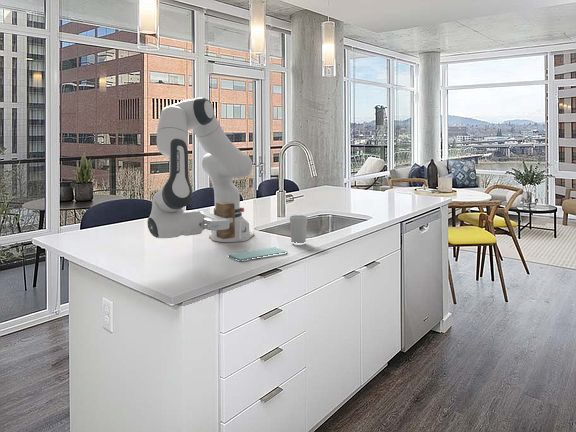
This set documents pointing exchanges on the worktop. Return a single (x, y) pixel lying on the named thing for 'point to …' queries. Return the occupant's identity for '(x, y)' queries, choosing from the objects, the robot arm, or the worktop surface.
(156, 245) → the worktop surface
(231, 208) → the block
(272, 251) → the board
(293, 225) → the cup
